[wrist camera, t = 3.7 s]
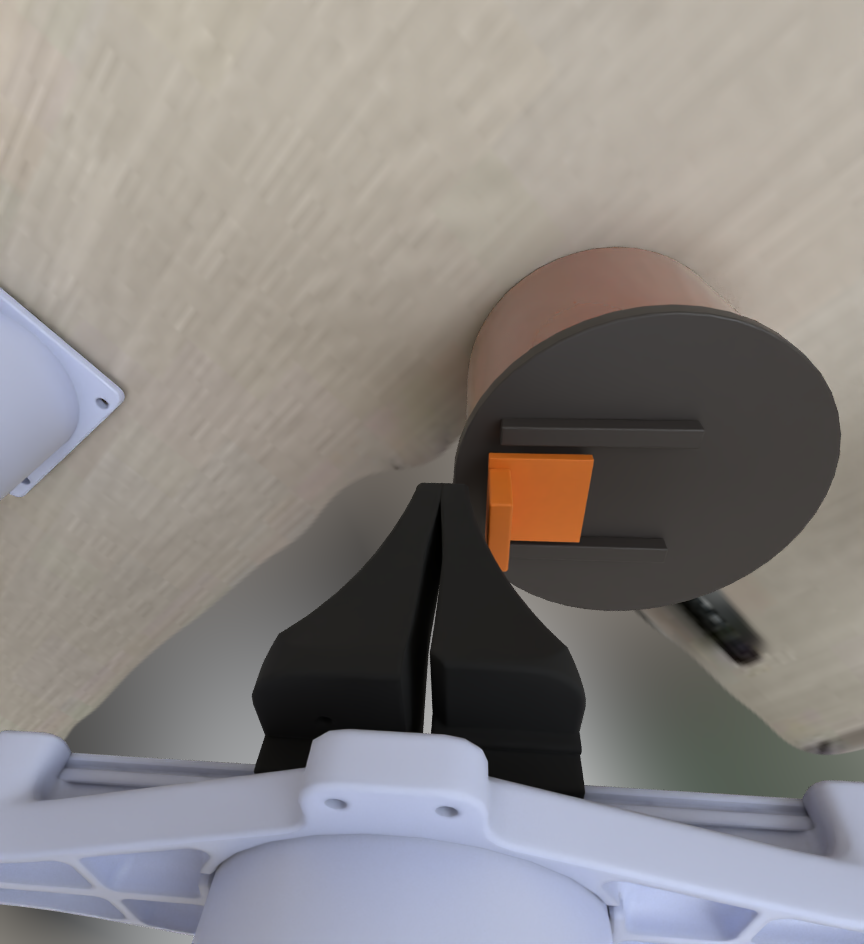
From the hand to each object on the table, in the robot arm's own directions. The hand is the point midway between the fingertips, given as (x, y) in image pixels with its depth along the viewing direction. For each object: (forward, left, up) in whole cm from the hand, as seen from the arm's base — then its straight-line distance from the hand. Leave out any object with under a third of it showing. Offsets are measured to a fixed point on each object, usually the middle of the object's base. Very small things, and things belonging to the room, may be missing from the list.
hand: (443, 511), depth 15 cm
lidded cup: (+4, -3, -8) cm, 10 cm away
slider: (+2, -2, -1) cm, 3 cm away
